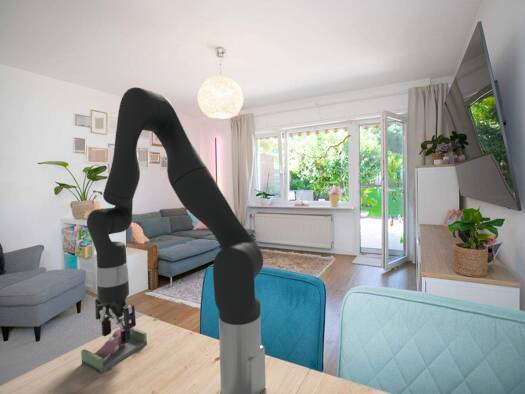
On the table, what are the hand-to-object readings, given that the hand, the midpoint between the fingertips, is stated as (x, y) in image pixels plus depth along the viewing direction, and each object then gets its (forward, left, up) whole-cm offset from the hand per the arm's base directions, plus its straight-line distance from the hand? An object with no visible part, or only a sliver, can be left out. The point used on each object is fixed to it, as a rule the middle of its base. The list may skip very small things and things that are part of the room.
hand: (116, 338), depth 74 cm
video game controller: (0, 0, -3) cm, 3 cm away
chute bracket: (0, 0, -4) cm, 4 cm away
